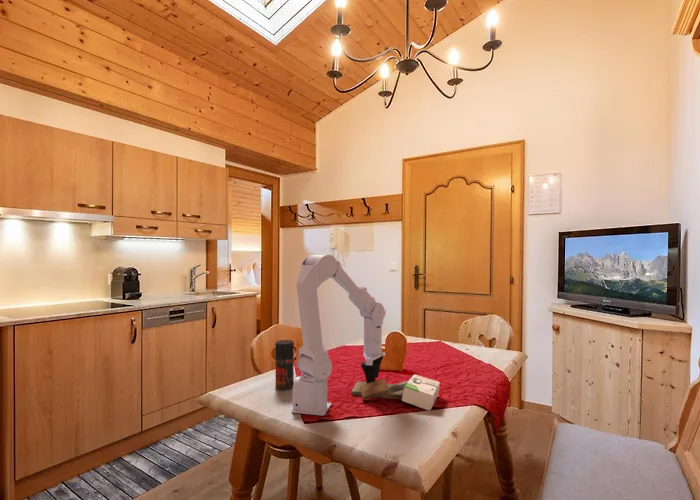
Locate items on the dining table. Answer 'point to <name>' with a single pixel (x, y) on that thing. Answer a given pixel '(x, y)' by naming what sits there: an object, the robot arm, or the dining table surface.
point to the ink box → (421, 392)
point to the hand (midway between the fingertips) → (372, 381)
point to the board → (395, 395)
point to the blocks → (380, 388)
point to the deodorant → (284, 365)
